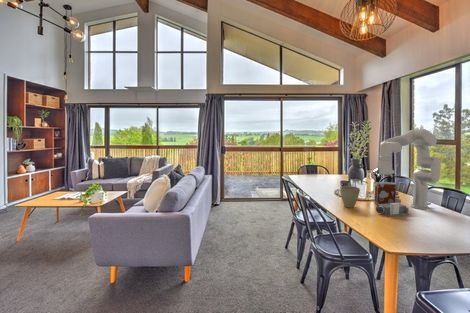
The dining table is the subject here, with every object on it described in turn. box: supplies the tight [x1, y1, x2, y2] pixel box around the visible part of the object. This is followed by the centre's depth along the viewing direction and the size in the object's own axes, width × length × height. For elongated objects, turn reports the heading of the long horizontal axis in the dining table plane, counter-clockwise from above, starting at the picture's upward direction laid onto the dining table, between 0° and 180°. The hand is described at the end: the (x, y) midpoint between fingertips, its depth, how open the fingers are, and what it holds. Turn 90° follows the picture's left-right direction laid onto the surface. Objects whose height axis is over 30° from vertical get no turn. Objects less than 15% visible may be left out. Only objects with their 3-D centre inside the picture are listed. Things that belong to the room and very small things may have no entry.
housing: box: [375, 203, 409, 217], centre depth 192 cm, size 21×11×7 cm, turn 104°
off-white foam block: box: [390, 203, 400, 215], centre depth 187 cm, size 7×2×8 cm, turn 104°
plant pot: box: [340, 185, 361, 209], centre depth 209 cm, size 15×15×16 cm
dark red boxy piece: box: [374, 181, 402, 206], centre depth 211 cm, size 9×19×20 cm, turn 78°
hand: (383, 182), depth 185 cm, fingers open, 9 cm apart
